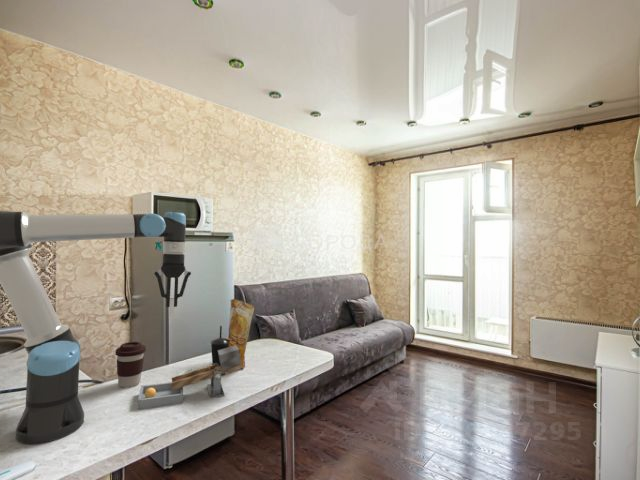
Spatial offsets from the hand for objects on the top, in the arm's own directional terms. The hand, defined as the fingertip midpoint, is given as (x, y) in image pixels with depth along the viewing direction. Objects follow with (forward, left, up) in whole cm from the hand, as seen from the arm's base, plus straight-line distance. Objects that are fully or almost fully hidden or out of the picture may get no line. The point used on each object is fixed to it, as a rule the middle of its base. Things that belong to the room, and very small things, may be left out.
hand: (171, 315), depth 125 cm
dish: (-2, -10, -26) cm, 28 cm away
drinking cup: (+19, +5, -27) cm, 33 cm away
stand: (+16, -10, -26) cm, 32 cm away
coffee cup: (-14, +6, -27) cm, 30 cm away
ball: (-6, -10, -24) cm, 27 cm away
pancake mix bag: (+28, +15, -27) cm, 41 cm away
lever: (+13, -7, -21) cm, 25 cm away
